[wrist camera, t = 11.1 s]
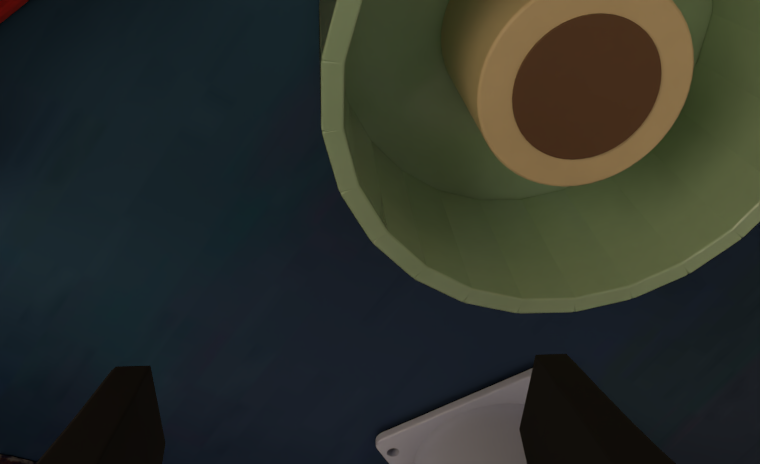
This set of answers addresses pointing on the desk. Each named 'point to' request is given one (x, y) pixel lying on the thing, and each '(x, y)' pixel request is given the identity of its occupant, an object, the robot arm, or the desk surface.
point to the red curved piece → (9, 7)
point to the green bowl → (524, 197)
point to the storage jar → (13, 460)
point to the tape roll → (569, 81)
